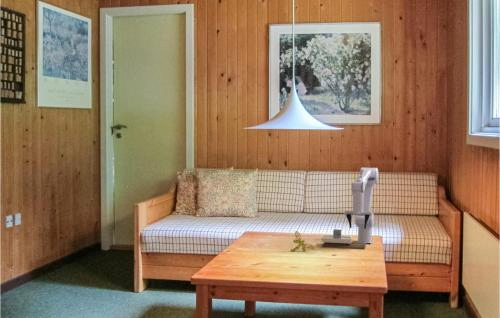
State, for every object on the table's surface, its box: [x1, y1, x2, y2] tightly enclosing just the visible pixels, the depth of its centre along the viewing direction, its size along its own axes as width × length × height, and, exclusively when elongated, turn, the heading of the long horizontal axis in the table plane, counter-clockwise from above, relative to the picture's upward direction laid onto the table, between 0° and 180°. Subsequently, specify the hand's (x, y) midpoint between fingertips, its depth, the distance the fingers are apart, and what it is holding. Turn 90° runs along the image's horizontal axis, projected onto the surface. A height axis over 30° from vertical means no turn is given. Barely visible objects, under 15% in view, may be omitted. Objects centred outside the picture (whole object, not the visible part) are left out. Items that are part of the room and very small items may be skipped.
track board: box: [321, 242, 367, 250], centre depth 301 cm, size 12×23×1 cm, turn 76°
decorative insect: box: [290, 230, 315, 252], centre depth 286 cm, size 13×3×10 cm
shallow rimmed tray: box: [321, 234, 354, 245], centre depth 302 cm, size 10×16×3 cm, turn 76°
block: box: [332, 228, 342, 239], centre depth 302 cm, size 4×4×5 cm
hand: (357, 228), depth 298 cm, fingers open, 7 cm apart
